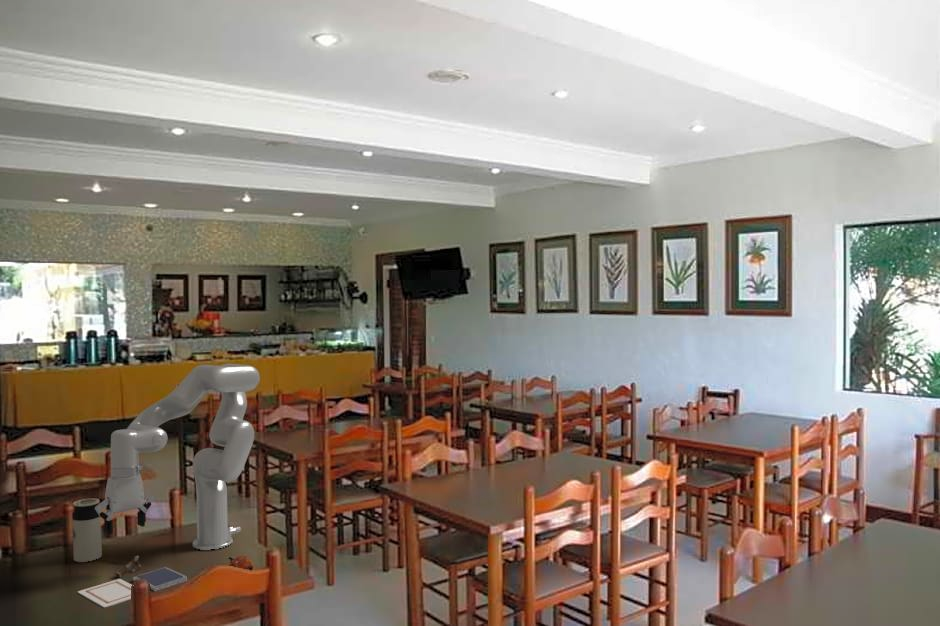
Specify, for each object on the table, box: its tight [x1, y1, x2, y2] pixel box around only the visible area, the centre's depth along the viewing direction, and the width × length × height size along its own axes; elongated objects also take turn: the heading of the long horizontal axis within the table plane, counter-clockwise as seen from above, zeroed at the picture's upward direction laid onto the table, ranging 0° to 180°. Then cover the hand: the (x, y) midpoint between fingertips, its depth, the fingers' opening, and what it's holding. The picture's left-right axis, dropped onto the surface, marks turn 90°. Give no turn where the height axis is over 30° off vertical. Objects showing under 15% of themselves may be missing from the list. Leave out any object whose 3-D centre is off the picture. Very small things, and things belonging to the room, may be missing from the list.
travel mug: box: [71, 497, 103, 563], centre depth 245 cm, size 8×8×18 cm
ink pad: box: [132, 566, 188, 592], centre depth 227 cm, size 10×12×1 cm
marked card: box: [77, 578, 133, 609], centre depth 219 cm, size 12×16×1 cm
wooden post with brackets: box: [114, 555, 142, 578], centre depth 233 cm, size 2×8×4 cm, turn 151°
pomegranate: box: [227, 555, 255, 571], centre depth 227 cm, size 7×7×10 cm
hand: (125, 529), depth 232 cm, fingers open, 9 cm apart
